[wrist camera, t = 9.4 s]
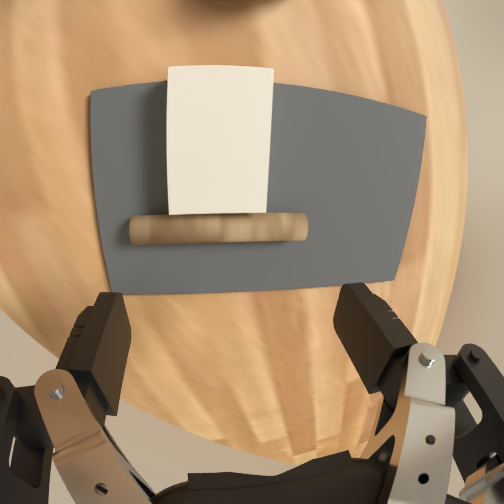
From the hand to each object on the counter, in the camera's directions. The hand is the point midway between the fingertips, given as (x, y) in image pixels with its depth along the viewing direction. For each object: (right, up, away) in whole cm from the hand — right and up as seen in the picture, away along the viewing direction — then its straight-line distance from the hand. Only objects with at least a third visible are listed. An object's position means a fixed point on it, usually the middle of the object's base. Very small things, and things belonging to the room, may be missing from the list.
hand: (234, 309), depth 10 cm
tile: (-2, +5, +8) cm, 10 cm away
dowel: (-2, +4, +11) cm, 12 cm away
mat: (+2, +6, +11) cm, 12 cm away
